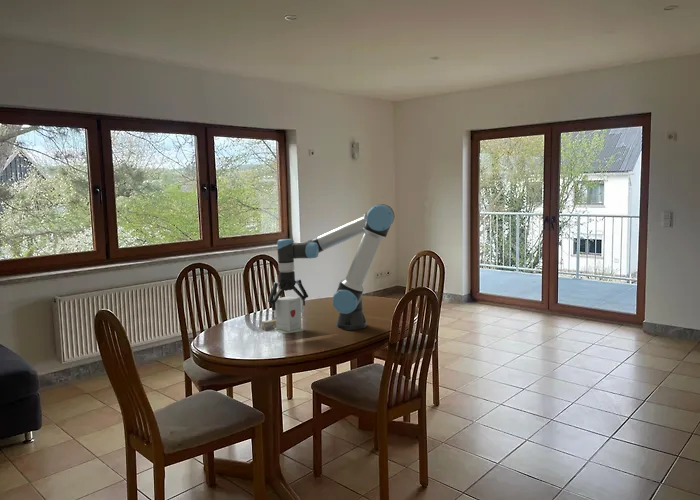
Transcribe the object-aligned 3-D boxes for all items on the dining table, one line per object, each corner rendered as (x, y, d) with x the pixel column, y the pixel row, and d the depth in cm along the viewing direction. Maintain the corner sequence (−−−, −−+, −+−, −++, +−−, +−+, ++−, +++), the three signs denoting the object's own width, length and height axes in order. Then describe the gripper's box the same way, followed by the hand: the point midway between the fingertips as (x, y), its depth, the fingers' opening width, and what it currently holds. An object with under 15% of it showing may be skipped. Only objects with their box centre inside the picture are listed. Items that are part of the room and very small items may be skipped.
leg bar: (287, 324, 275) (287, 315, 275) (290, 325, 272) (289, 317, 271) (261, 328, 269) (261, 319, 268) (264, 329, 265) (263, 320, 265)
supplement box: (289, 331, 258) (288, 300, 256) (275, 329, 263) (274, 298, 261) (302, 327, 265) (301, 297, 263) (288, 325, 270) (287, 295, 269)
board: (307, 333, 262) (306, 322, 262) (263, 340, 252) (263, 329, 251) (285, 321, 286) (284, 312, 286) (244, 327, 276) (244, 317, 275)
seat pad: (303, 330, 262) (303, 329, 262) (282, 334, 256) (282, 332, 256) (294, 326, 271) (294, 324, 271) (274, 329, 266) (274, 327, 266)
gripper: (307, 267, 270) (309, 309, 272) (259, 273, 258) (262, 316, 260) (313, 269, 263) (315, 312, 266) (264, 274, 252) (267, 319, 254)
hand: (289, 314), depth 263 cm, fingers open, 13 cm apart
